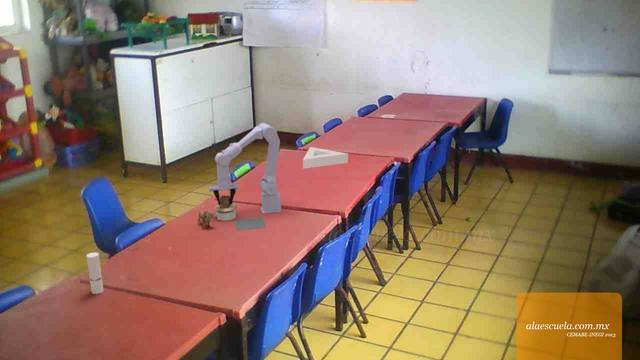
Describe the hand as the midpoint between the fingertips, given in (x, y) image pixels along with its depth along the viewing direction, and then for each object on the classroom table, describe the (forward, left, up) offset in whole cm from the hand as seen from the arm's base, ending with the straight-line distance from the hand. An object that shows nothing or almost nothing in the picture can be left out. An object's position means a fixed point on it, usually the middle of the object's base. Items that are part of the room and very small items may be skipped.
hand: (225, 204), depth 315 cm
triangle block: (-71, -80, -8) cm, 107 cm away
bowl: (0, 0, -7) cm, 7 cm away
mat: (-10, +12, -7) cm, 17 cm away
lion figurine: (+10, +7, -7) cm, 15 cm away
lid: (0, 0, -2) cm, 2 cm away
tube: (+55, +64, -7) cm, 85 cm away
